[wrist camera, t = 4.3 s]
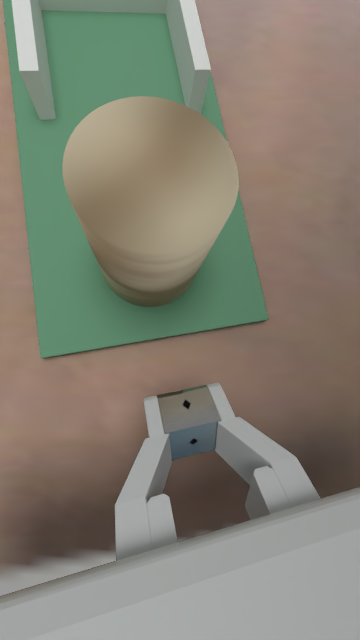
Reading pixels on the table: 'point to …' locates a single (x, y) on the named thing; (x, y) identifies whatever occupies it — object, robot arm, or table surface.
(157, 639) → the robot arm
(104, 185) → the maple canister
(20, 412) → the table surface
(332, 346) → the table surface
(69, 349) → the putting green
